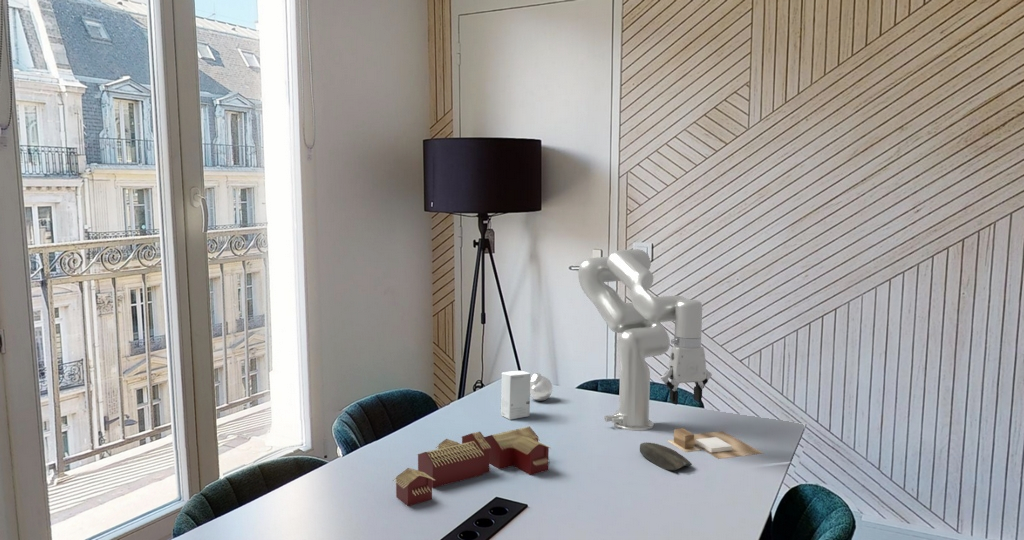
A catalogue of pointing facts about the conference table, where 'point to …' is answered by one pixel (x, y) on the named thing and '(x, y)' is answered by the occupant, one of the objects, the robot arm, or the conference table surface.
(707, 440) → the tile
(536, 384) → the ghost figurine
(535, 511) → the conference table surface
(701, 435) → the cork mat
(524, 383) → the skincare box
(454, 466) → the toy houses
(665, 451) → the decorative stone
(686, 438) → the wooden float
